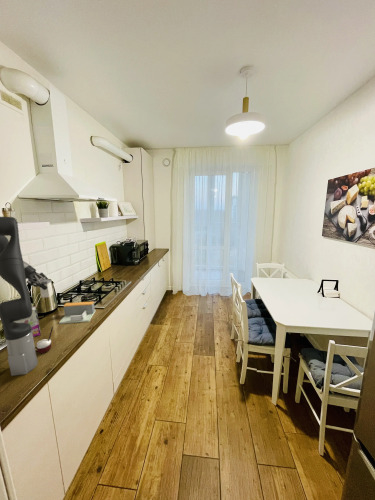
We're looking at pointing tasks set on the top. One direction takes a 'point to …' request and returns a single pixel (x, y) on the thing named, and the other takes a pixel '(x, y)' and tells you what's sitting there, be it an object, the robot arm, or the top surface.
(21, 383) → the top surface
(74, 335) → the top surface
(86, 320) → the orange-topped grey blocks
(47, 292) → the white grey-topped block
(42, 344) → the cocoa
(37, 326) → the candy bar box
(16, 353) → the robot arm
